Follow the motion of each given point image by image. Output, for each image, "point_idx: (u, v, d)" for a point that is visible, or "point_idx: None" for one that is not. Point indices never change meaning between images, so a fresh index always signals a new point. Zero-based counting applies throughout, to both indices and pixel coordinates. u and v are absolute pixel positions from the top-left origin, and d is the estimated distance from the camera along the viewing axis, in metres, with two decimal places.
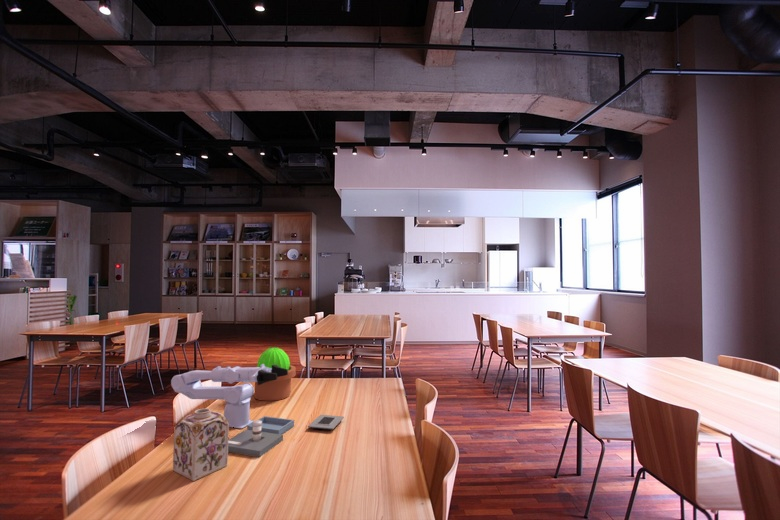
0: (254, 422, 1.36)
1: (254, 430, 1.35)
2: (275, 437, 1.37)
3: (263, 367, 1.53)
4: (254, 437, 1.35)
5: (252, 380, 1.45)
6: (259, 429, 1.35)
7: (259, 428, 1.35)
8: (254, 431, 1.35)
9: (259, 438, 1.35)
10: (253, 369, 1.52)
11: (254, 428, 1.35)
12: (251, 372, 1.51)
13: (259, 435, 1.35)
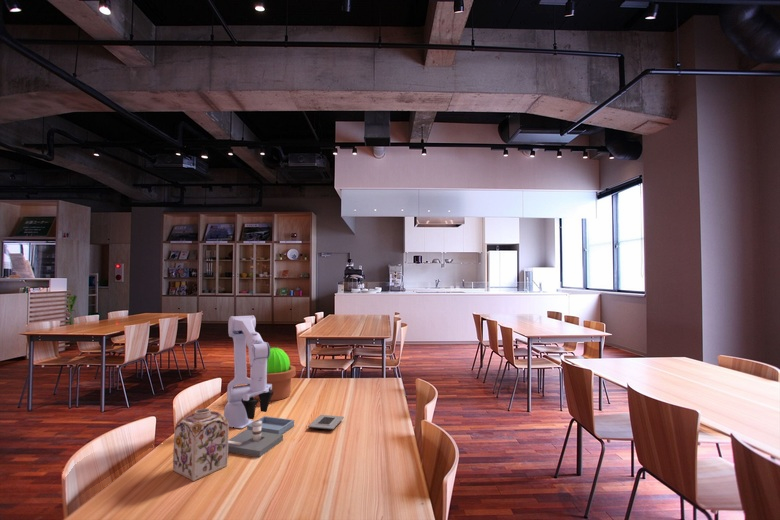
0: (254, 422, 1.36)
1: (254, 430, 1.35)
2: (275, 437, 1.37)
3: None
4: (254, 437, 1.35)
5: (243, 396, 1.30)
6: (259, 429, 1.35)
7: (259, 428, 1.35)
8: (254, 431, 1.35)
9: (259, 438, 1.35)
10: (261, 382, 1.35)
11: (254, 428, 1.35)
12: (257, 382, 1.34)
13: (259, 435, 1.35)
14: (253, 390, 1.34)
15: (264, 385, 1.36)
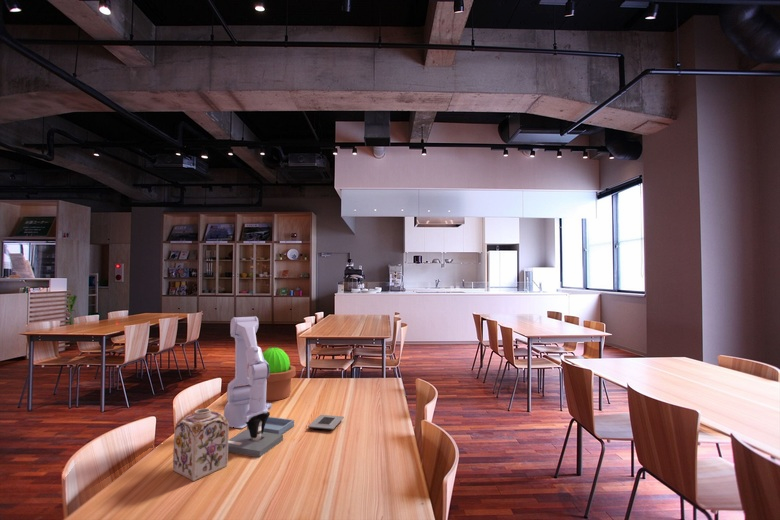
0: None
1: None
2: (275, 437, 1.37)
3: None
4: None
5: (243, 418, 1.30)
6: (259, 429, 1.35)
7: (259, 428, 1.35)
8: None
9: (259, 438, 1.35)
10: (260, 403, 1.35)
11: None
12: (256, 402, 1.34)
13: (259, 435, 1.35)
14: (252, 411, 1.34)
15: (263, 405, 1.36)
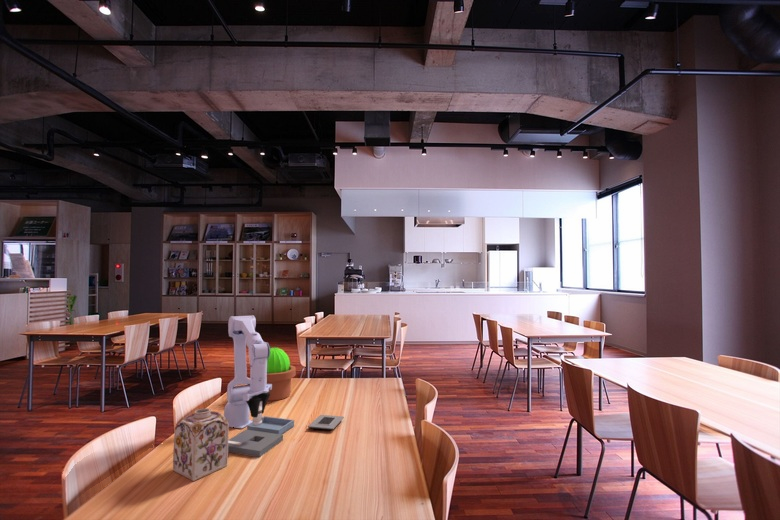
0: None
1: None
2: (275, 437, 1.37)
3: None
4: None
5: (243, 396, 1.30)
6: (260, 409, 1.36)
7: (260, 408, 1.36)
8: None
9: (260, 418, 1.36)
10: (261, 382, 1.35)
11: None
12: (257, 382, 1.34)
13: (260, 415, 1.36)
14: (253, 390, 1.34)
15: (264, 385, 1.36)
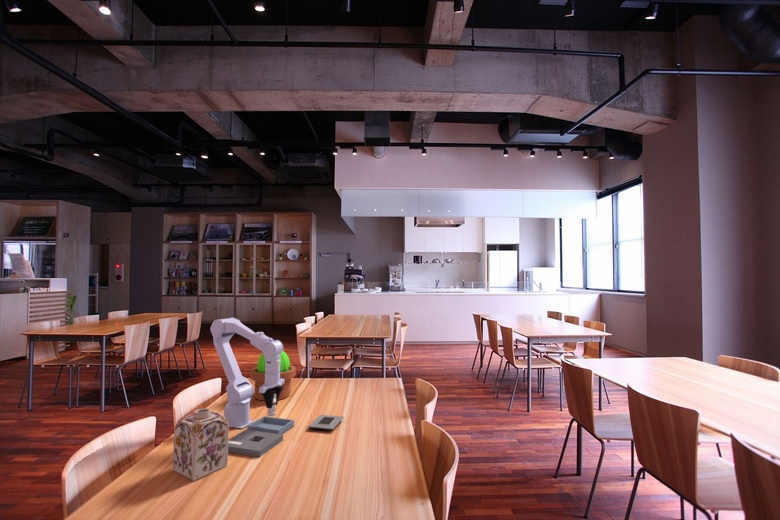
0: None
1: None
2: (275, 437, 1.37)
3: None
4: (269, 408, 1.49)
5: (260, 389, 1.44)
6: (274, 401, 1.49)
7: (274, 400, 1.49)
8: None
9: (274, 409, 1.49)
10: (275, 377, 1.49)
11: None
12: (272, 376, 1.48)
13: (274, 406, 1.49)
14: (268, 384, 1.48)
15: (278, 379, 1.50)
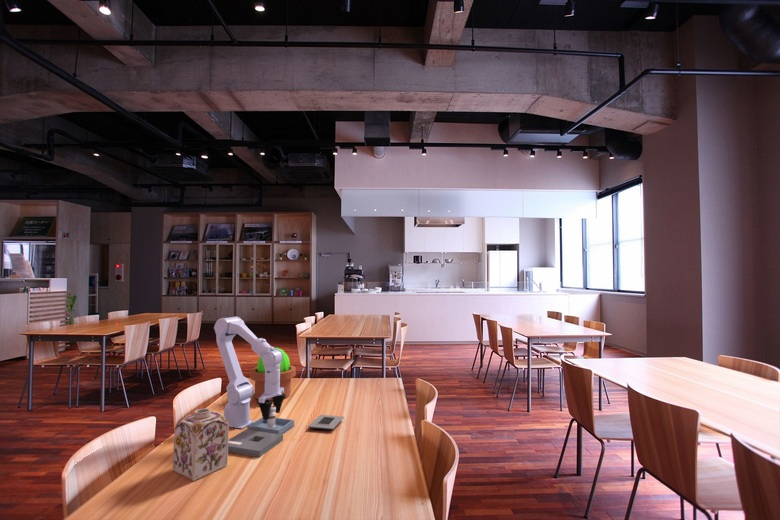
0: None
1: (269, 415, 1.49)
2: (275, 437, 1.37)
3: None
4: (269, 421, 1.48)
5: (259, 399, 1.44)
6: (273, 414, 1.49)
7: (273, 413, 1.49)
8: (269, 416, 1.49)
9: (273, 422, 1.49)
10: (275, 386, 1.48)
11: None
12: (271, 386, 1.48)
13: (273, 419, 1.49)
14: (268, 393, 1.48)
15: (277, 389, 1.49)
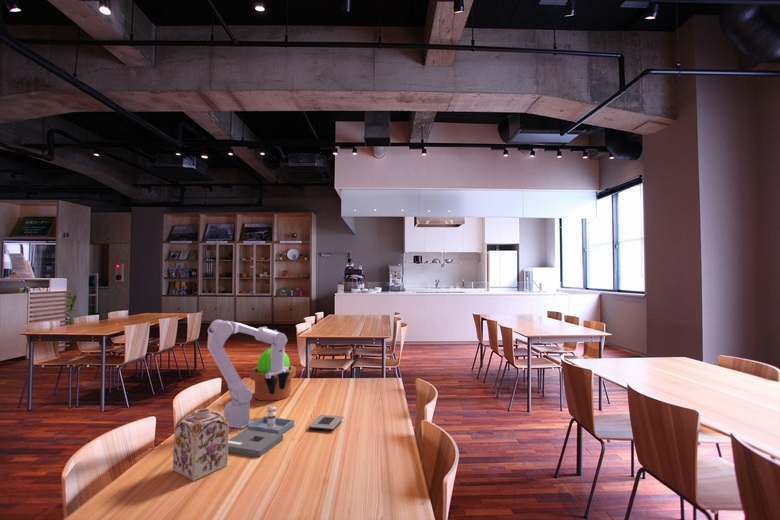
0: (269, 408, 1.49)
1: (269, 415, 1.49)
2: (275, 437, 1.37)
3: None
4: (269, 421, 1.48)
5: (266, 375, 1.59)
6: (273, 414, 1.49)
7: (273, 413, 1.49)
8: (269, 416, 1.49)
9: (274, 422, 1.49)
10: (280, 364, 1.64)
11: (269, 413, 1.49)
12: (277, 364, 1.63)
13: (273, 419, 1.49)
14: (273, 370, 1.63)
15: (282, 366, 1.65)
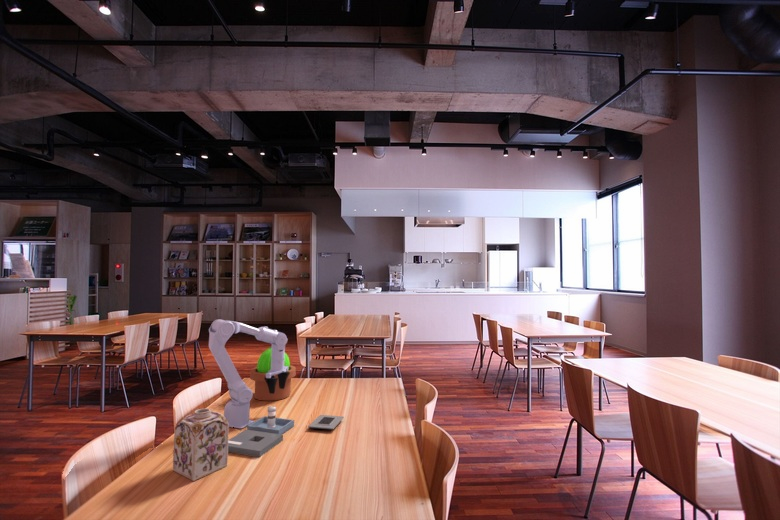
0: (269, 408, 1.50)
1: (269, 415, 1.49)
2: (275, 437, 1.37)
3: (283, 371, 1.66)
4: (269, 421, 1.48)
5: (266, 375, 1.60)
6: (273, 414, 1.49)
7: (273, 413, 1.49)
8: (269, 416, 1.49)
9: (274, 422, 1.49)
10: (280, 364, 1.65)
11: (269, 413, 1.49)
12: (277, 363, 1.64)
13: (274, 419, 1.49)
14: (274, 370, 1.64)
15: (282, 366, 1.66)
